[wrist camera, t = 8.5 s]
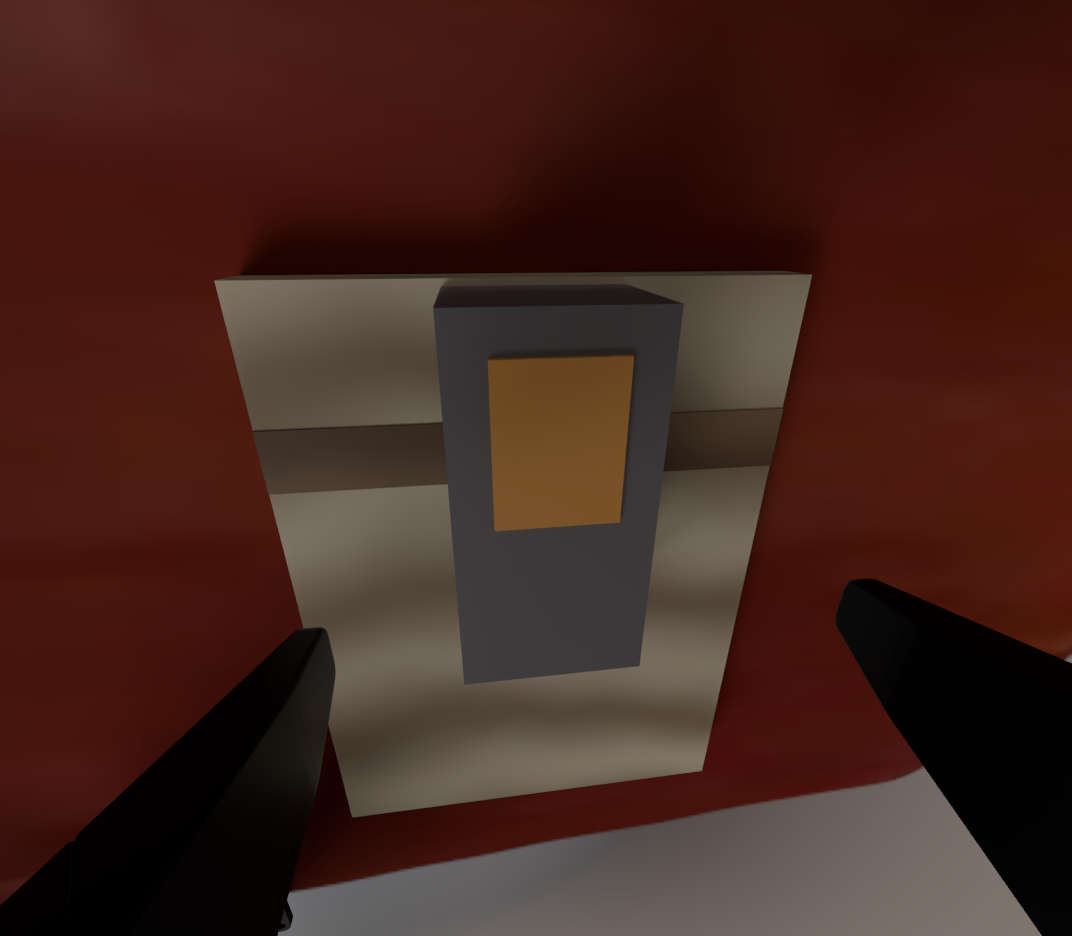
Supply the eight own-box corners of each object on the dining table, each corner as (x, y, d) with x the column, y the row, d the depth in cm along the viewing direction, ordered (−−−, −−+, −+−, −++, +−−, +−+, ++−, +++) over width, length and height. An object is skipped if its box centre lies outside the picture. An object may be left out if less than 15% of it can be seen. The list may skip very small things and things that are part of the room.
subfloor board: (689, 741, 25) (702, 771, 24) (358, 783, 23) (352, 818, 22) (782, 270, 16) (813, 274, 14) (238, 275, 14) (213, 281, 12)
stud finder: (604, 579, 18) (640, 670, 14) (463, 591, 17) (464, 689, 14) (626, 284, 14) (687, 304, 10) (440, 286, 13) (432, 309, 9)
